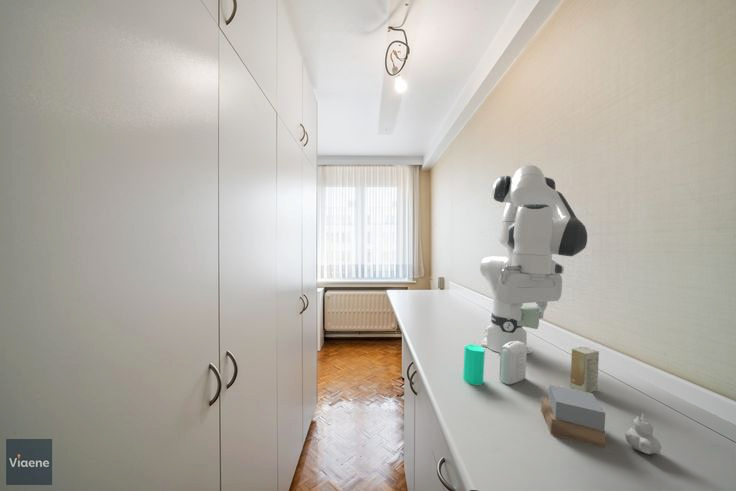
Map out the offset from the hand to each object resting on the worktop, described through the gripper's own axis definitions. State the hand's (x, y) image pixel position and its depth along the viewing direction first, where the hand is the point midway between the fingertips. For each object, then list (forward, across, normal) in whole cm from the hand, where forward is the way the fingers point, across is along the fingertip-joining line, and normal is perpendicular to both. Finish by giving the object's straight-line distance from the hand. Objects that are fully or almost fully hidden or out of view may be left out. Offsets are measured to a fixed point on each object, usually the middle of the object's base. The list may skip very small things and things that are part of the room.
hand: (528, 319), depth 72 cm
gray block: (+21, +6, -9) cm, 23 cm away
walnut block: (+25, +5, -8) cm, 27 cm away
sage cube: (+2, 0, 0) cm, 2 cm away
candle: (+24, 0, +18) cm, 30 cm away
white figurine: (+25, +12, -19) cm, 33 cm away
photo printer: (+24, +13, +14) cm, 31 cm away
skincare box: (+24, +29, +2) cm, 38 cm away
